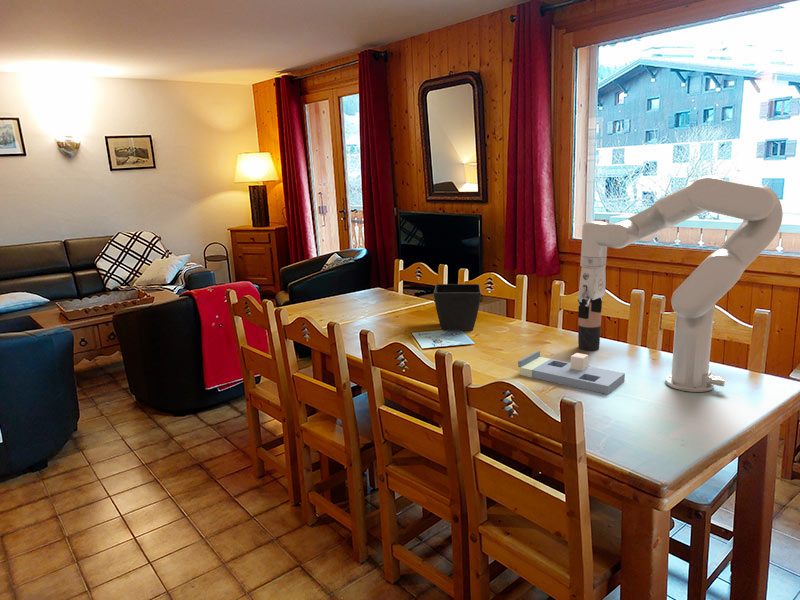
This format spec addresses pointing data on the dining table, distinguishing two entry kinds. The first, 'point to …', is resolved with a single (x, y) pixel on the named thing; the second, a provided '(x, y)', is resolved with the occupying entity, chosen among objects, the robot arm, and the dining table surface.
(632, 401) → the dining table surface
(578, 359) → the cream block
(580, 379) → the board
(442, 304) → the flower pot
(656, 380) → the dining table surface
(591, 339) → the travel mug
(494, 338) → the dining table surface
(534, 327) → the dining table surface
